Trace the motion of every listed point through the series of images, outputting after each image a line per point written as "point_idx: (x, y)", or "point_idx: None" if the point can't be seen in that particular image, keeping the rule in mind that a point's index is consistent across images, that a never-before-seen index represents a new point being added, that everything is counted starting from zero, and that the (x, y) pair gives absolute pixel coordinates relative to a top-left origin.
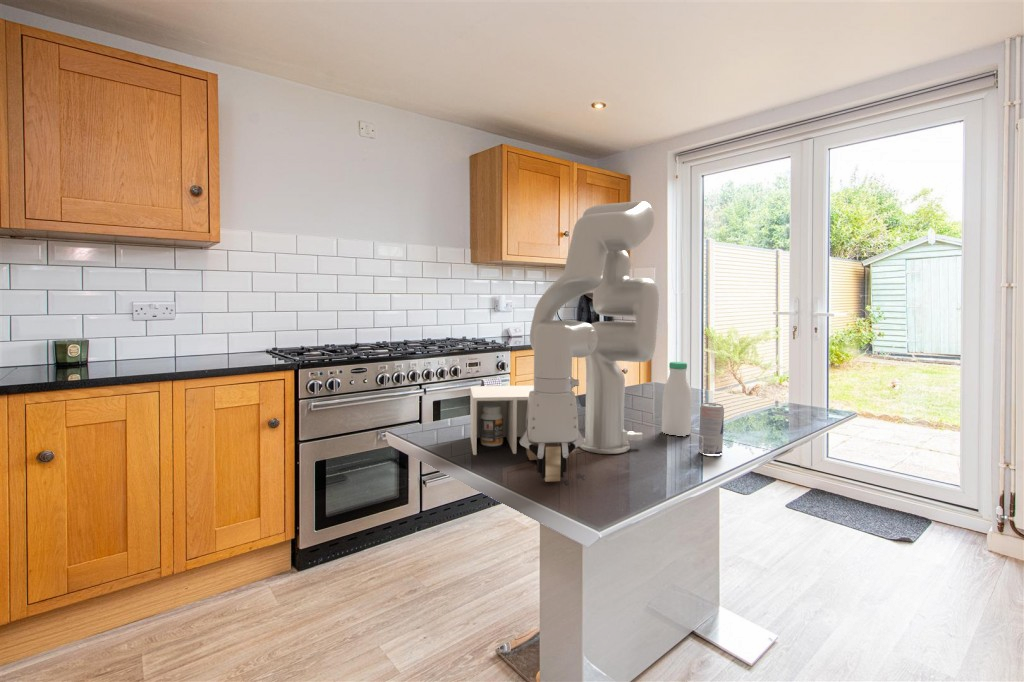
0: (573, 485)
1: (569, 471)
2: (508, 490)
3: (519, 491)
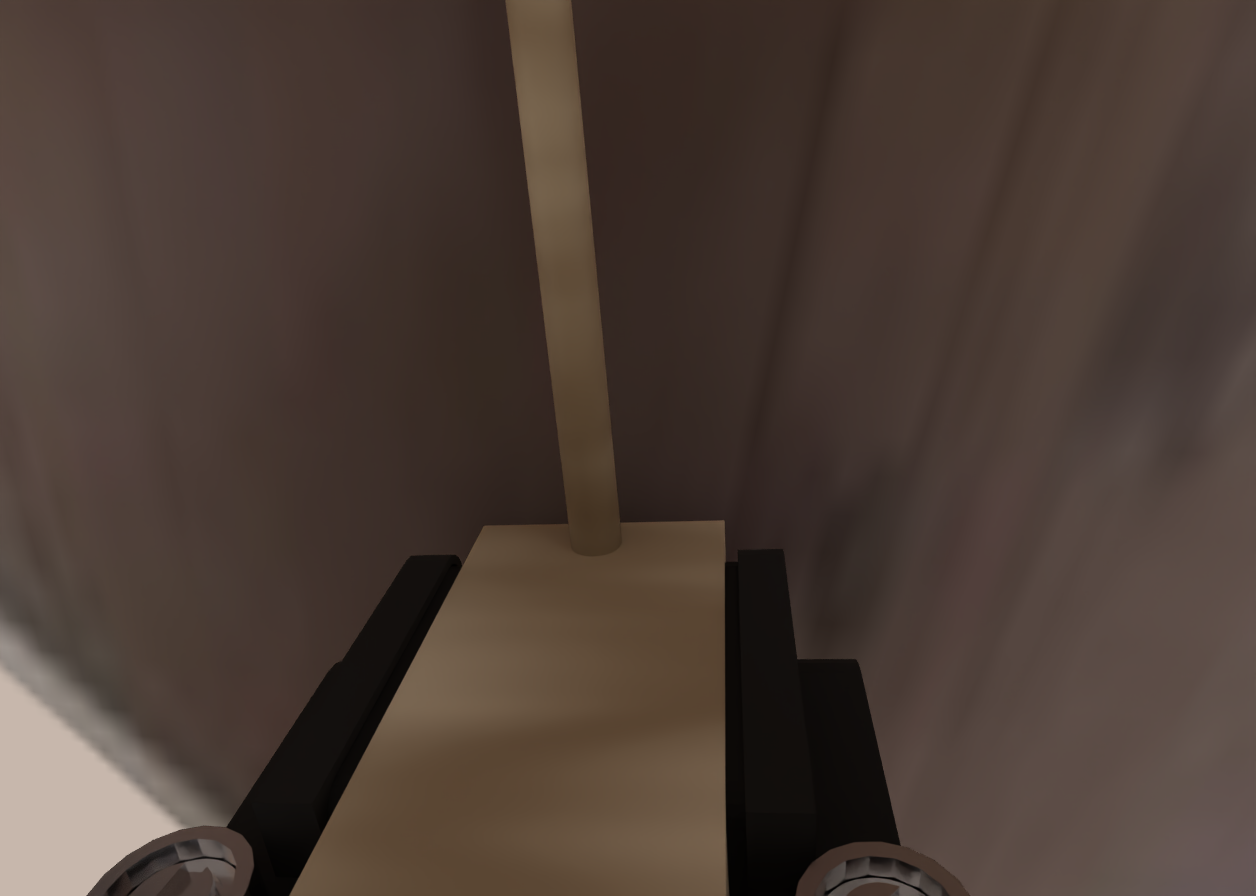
0: (922, 671)
1: (1083, 4)
2: (100, 737)
3: (226, 772)
